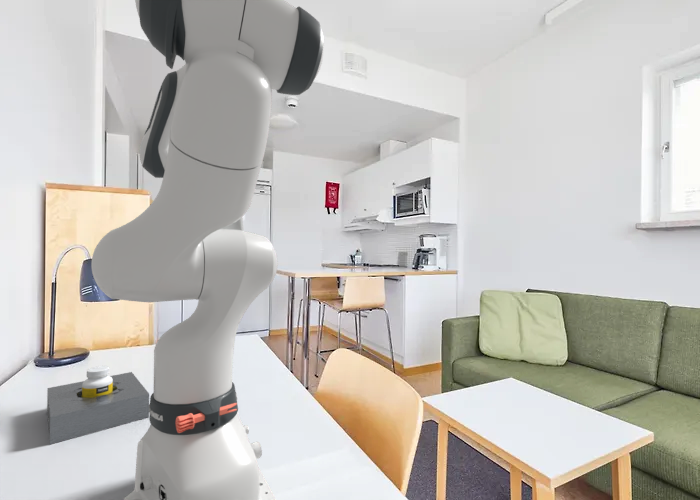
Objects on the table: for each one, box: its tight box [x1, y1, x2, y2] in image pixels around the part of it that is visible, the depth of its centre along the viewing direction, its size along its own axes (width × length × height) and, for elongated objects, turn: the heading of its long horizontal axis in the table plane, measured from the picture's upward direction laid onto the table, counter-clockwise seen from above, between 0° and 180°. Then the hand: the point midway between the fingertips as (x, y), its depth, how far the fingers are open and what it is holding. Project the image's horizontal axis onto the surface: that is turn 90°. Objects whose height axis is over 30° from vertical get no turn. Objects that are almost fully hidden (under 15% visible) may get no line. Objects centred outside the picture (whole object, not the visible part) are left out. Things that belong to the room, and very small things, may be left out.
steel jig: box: [46, 371, 150, 445], centre depth 76 cm, size 18×16×5 cm
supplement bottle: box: [82, 365, 113, 398], centre depth 76 cm, size 5×5×10 cm
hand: (201, 256), depth 86 cm, fingers open, 8 cm apart
